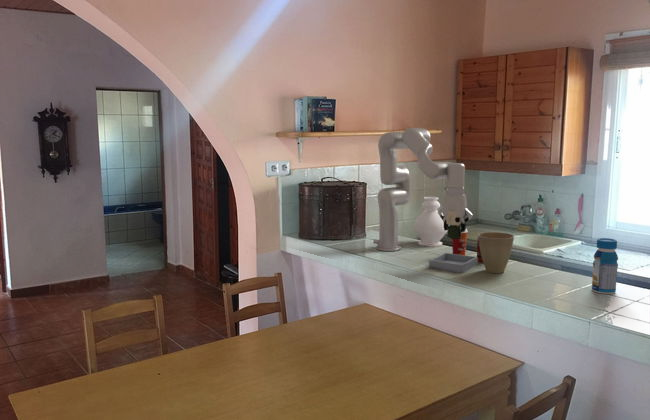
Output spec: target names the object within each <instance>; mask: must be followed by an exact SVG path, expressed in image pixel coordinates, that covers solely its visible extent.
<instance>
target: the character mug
mask: <svg viewBox="0 0 650 420" xmlns="http://www.w3.org/2000/svg"><path fill="white" fill-rule="evenodd" d="M461 223H462V221H461V218H457V211H448V216H447V224H448V225H449V227H448V230H447V232H446V233H447V234H446V238H448V239H451V240H452V239H459V237H460V238H462V237H461Z"/></svg>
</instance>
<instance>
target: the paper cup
mask: <svg viewBox="0 0 650 420" xmlns="http://www.w3.org/2000/svg"><path fill="white" fill-rule="evenodd" d="M468 233H469V231H468V228H466V230H465V232H461V237H462V238H460V237H459V239H451V242H452V244H451V246H452V254H457V255H465V256H466V249H467V241H468V240H467V235H468Z"/></svg>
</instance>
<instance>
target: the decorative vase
mask: <svg viewBox="0 0 650 420" xmlns="http://www.w3.org/2000/svg"><path fill="white" fill-rule="evenodd" d="M423 199H424V201H423V202H422V203H421V207H422V208H423V209H424V210H423V211H422V212H421V213H420V214H419V215H418V216H417V218H416V219H415V220H414V223H413V231H414V233H416V235H417V237H418V238H419V239H420V240H419V241H418V244H419V245H420V246H426V247H439V246H442V245H443V242H442V241H441V240H442V239H443V237H444V236H445V234H446V233H448V230H446V231H445V230H444V222H443V220H442V219H441V217H440V216H439V214H438V211H439V208H441V203H440V202H439V201H438V200H439V197H438V196H424V197H423Z"/></svg>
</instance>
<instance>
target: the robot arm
mask: <svg viewBox="0 0 650 420" xmlns="http://www.w3.org/2000/svg"><path fill="white" fill-rule="evenodd" d="M430 142H431V134H430V132H429V130H428V129H426V128H424V127H412V128H411V127H409V128H406V129H405V130H404V131H389V132H384V133H383V134H382V135H381V136H380V137H379V138H378V144H377V146H378V153H379V175H380V178H379V179H380V181H381V183H382V184H383V185H385V186H390V187H385V188H381V189H380V190H379V191H378V193H377V204H378V209H379V212H378V215H379V218H378V219H379V223H378V224H379V229H378V232H379V235H378V236H379V239H376V238H374V239H373V242H372V243H373V244H376V248H375V249H376V250H378V251H381V252H397V251H400V250H401V249H402V247H401V245H399V213H398V210H397V208H396V207H398V206H406V205H407V204H408V203H409V201H410V199H411V175H410V171H409V169H408V168H407V167H406V166H404V165H398V158H397V154H396V152H395V151H394V150H400V149H401V150H403V149H405V150H408V149H409V150H410V151H411V152H412V154H414V155H415V156H416V158H417V166H418V168H419V170H420V171H421V173H423V174H424V175H425V176H426V177H427V178H428V179H431V180H440V179H441V180H442V179H443V180H444V179H446V187H444V188H443V191H444V192H445V193H444V196H443V202H442V207H441V209H438V210H437V211H438V214H439V216H440V217H441V219H442V220H443V222H444V230H445V231H446V230H447V231H448V227H449V226H450V225H448V224H447V216H448V211H457V218H461V221H462V223H461V225H460V228H461V232H465V230H466V229H467V223H468V221H470V219H471V218H472V217H473V216H474V214H473V213H472V212H471V211H470V210H469V209H468V202H467V201H468V200H467V194H465V181H466V180H465V177H466V176H465V175H466V173H465V171H466V165H465V164H464V163H461V162H459V163H458V162H451V161H436V162H435V161H433V160H432V159H431V158H430V157H429V156H430V155H431V154H432V153H433V147H434V146H433V145H432V143H430ZM394 185H395V187H393V186H394ZM391 186H392V187H391Z"/></svg>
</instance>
